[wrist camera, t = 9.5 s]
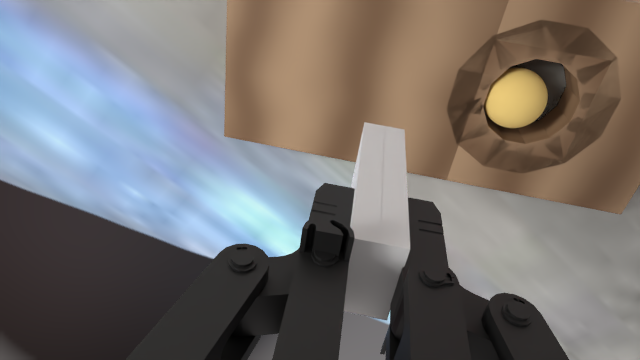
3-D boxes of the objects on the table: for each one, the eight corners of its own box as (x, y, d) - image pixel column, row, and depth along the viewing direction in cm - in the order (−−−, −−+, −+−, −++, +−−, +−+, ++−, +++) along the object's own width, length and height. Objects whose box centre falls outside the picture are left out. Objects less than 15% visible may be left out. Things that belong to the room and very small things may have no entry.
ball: (483, 58, 26) (543, 73, 24) (510, 64, 28) (566, 78, 26) (464, 117, 27) (519, 136, 25) (491, 118, 29) (543, 135, 27)
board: (235, 120, 32) (224, 136, 30) (242, -70, 26) (228, -67, 24) (605, 192, 31) (620, 214, 29) (713, 10, 24) (742, 20, 22)
